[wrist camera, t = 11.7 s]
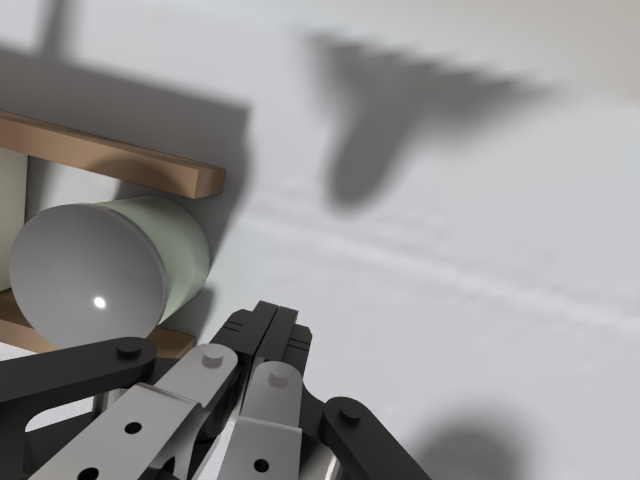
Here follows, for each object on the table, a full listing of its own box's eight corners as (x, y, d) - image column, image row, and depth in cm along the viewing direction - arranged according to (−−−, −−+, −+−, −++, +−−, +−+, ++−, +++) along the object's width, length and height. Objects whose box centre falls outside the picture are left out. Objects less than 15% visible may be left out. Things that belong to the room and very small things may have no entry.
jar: (222, 211, 18) (170, 229, 13) (201, 322, 19) (148, 376, 14) (106, 181, 18) (12, 186, 13) (94, 292, 19) (5, 334, 14)
